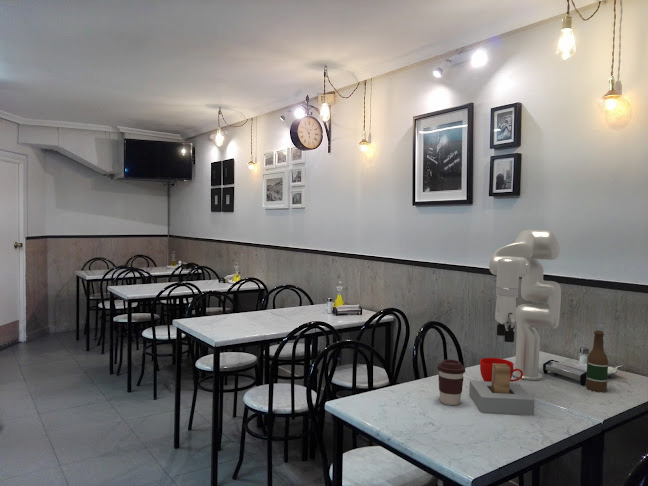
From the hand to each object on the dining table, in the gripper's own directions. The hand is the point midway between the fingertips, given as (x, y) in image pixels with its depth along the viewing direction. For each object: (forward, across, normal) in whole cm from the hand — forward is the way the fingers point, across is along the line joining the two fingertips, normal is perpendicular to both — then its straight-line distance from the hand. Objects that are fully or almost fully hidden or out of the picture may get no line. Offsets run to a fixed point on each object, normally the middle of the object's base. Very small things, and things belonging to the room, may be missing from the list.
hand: (505, 338), depth 181 cm
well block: (+24, +1, -1) cm, 24 cm away
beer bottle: (+25, -22, +44) cm, 55 cm away
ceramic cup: (+25, -19, +5) cm, 32 cm away
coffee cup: (+24, +1, -19) cm, 31 cm away
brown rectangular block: (+24, +1, -1) cm, 24 cm away
